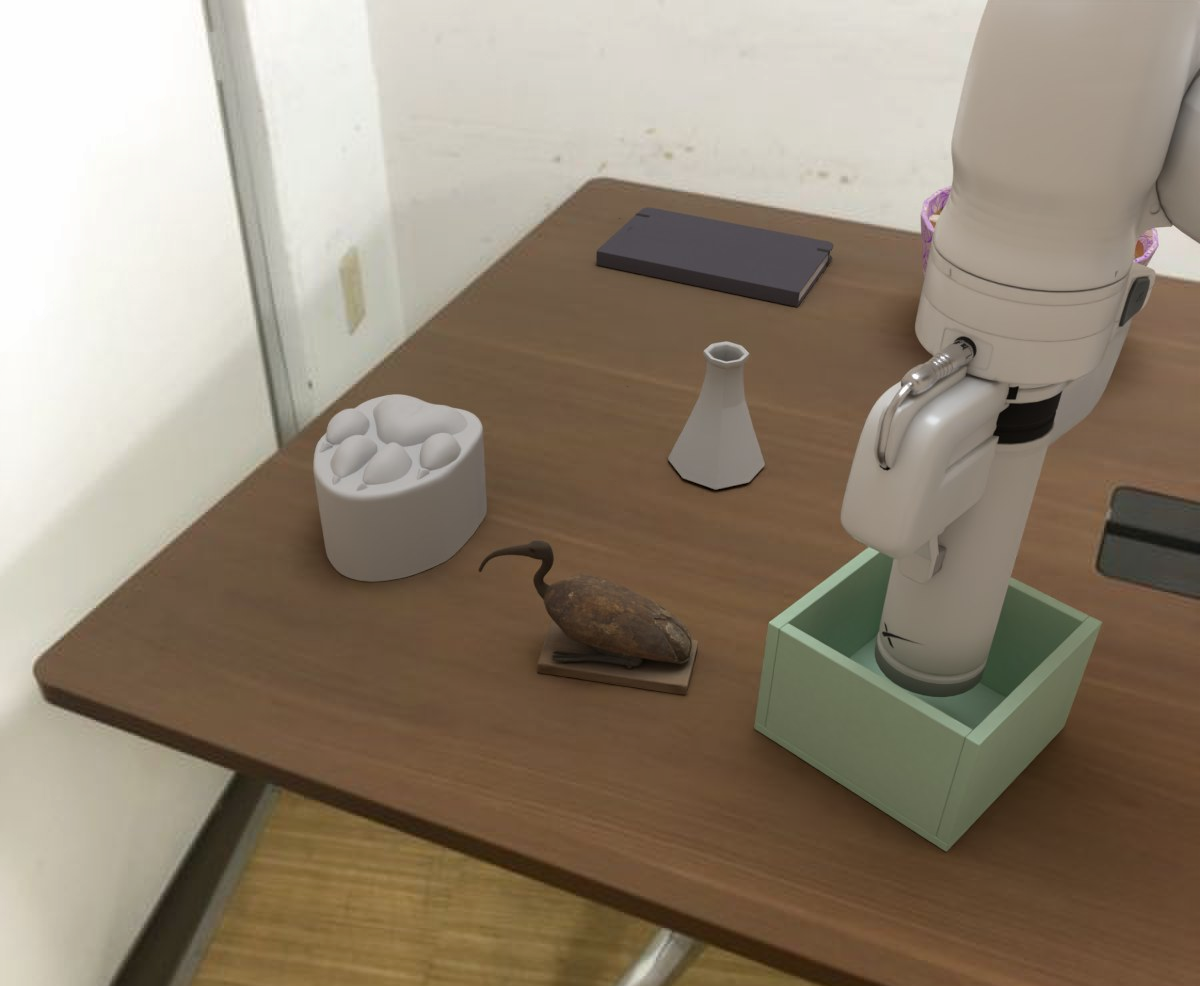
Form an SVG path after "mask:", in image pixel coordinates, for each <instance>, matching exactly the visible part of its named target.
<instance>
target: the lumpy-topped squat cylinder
mask: <svg viewBox="0 0 1200 986" xmlns="http://www.w3.org/2000/svg"><path fill="white" fill-rule="evenodd" d="M483 427H484V426H483V424H482V422H481V420H480V418H479V417H477V415H475V414H474V413H473V412H471V411H468V410H466V409H462V408H456V407H451V406H449V405H444V404H435V403H431V402H427V401H425V400H422V399H420V398H417V397H414V396H411V395H407V394H400V393H399V394H398V393H397V394H396V393H395V394H394V393H393V394H386V395H382V396H378V397H374V398H371V399H368V400H366V401H364V402H362V403H360V404H359V405H357V406H356V407H354V408H345V409H343V410H341V411H339V412H337V413H336V414H335V415H334V416H333V417H331V419H330V420H329V422H328V425H327V427H326V432H325V433H324V434H323V436H321V437H320V439H319V440H318V441H317V443H316V446H315V448H314V449H315V450H314V453H313V463H312V464H313V466H312V467H313V470H312V471H313V478H314V484H315V485H314V486H315V490H316V491H315V492H316V497H317V504H318V510H319V517H320V522H321V529H322V530H321V531H322V534H323V535H322V536H323V542H324V543H323V544H324V548H325V549H324V550H325V554H326V557H327V559H328V561H329V562H330V565H332V567H333V568H334V569H335V571H337V572H338V573H339V574H341V575H342V576H343V577H345V578H348V579H351V580H355V581H360V582H385V581H394V580H399V579H403V578H407V577H408V578H409V577H412V576H414V575H417V574H420V573H422V572H425V571H426V570H430V569H433V568H434V567H437V566H439V565H441V564H443V563H445V562H447V561H448V560H450V559H452V558H453V556H455V555H456V554H457V553H458V552H459V551H460V550H461V549H462V548H463V547H464V546H465V544H467V542H468V541H469V540H471V538H472V536H473V535H474V534H475V533H476V531H477V530H478V528H479V526H480V525H481V524H482V523H483V521H484V519H485V517H486V515H487V512H488V503H487V484H486V483H487V481H486V480H487V479H486V462H485V446H484V428H483Z"/></svg>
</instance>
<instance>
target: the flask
mask: <svg viewBox="0 0 1200 986" xmlns="http://www.w3.org/2000/svg"><path fill="white" fill-rule="evenodd" d="M702 355H703V358H704V359H705V360H706V366H705V376H704V380H703V382H702V387H701V389H700V393H699V396H698V398H697V400H696V402H695V404H694V407H693V409H692V410H691V413H690V415H689V416H688V419H687V421H686V423H685V425H684V427H683V429H682V430H681V433H680V435H679V436H678V438H677V439H676V442H675V444H674V445H673V447H672V449H671V452H670V453H669V455H668V458H667V460H668V461H669V463H670V464H671V465H672V466H673V468H674V469H675V471H677V473H678V474H679V475H680V476H681V479H684V480H686V481H690V482H693V483H696V484H699V485H701V486H704V487H707V488H710V489H713V490H715V491H716V490H719V489H720V490H721V489H726V488H729V487H733V486H739V485H743V484H747V483H750V482H751V481H752V480H753V479H754V478H755V477H756V476H757V474H759V472H760V471H762V469H763V468H764V467H765V466H766V464H765V463H766V462H765V460H764V456H763V453H762V450H761V447H760V444H759V440H758V438H757V435H756V432H755V429H754V426H753V425H754V424H753V422H752V418H751V415H750V412H749V407H748V404H747V401H746V393H745V384H744V372H745V370H744V369H745V363H746V362H747V361H749V358H750V353H749V352H748V351H747V350H746V348H745V347H744V346H743V345H741V344H737V343H734V342H731V341H720V342H715V343H710V345H709V346H708V347H706V348H705V349H704V350H703V352H702Z"/></svg>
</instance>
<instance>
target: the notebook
mask: <svg viewBox="0 0 1200 986" xmlns="http://www.w3.org/2000/svg"><path fill="white" fill-rule="evenodd" d="M833 248H834V243H833V242H832V241H828V240H823V239H817V238H813V237H808V236H803V235H798V234H797V235H796V234H792V233H786V232H782V231H775V230H770V229H765V228H761V227H755V226H750V225H745V224H739V223H734V222H730V221H724V220H718V219H713V218H707V217H703V216H697V215H693V214H689V213H688V214H687V213H683V212H681V213H680V212H677V211H672V210H666V209H660V208H656V207H649V206H648V207H647V206H646V207H643V208H642V209H640V210H639V211H638V212H636V213H635V214H634V216H632V217H631V218H630V219H629V220H628V221H627V222H626V223H625V224H624V225H623V226H621V228H620V229H618V231H616V233H614V234H613V235H612V236H611V237H610V238H609V239H608V240H607V241H606V242H604V243H603V245H601V246H600V247H599V248H598V249H597V250H596V257H595V258H596V259H595V260H596V263H595V264H596V266H600V267H605V268H608V269H613V270H618V271H623V272H628V273H634V274H638V275H643V276H647V277H652V278H656V279H657V278H658V279H662V280H666V281H672V282H676V283H681V284H684V285H685V284H686V285H691V286H696V287H700V288H705V289H709V290H713V291H714V290H715V291H719V292H725V293H728V294H734V295H738V296H739V295H740V296H743V297H748V298H753V299H757V300H762V301H767V302H772V303H777V304H781V305H786V306H790V307H796V308H798V307H800V305H801V303H802V302H803V300H804V299H805V297H806V296H807V295H808V293H809V291H810V290H811V289H812V287H813V286H814V285H815V284H816V282H817V281H818V279H819V278H820V277H821V275H822V274H823V272H824V271H825V270H826V268H827V267H828V266H829V264H830V263H831V261H832V259H833V257H832V255H831V251H832V250H833Z"/></svg>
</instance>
